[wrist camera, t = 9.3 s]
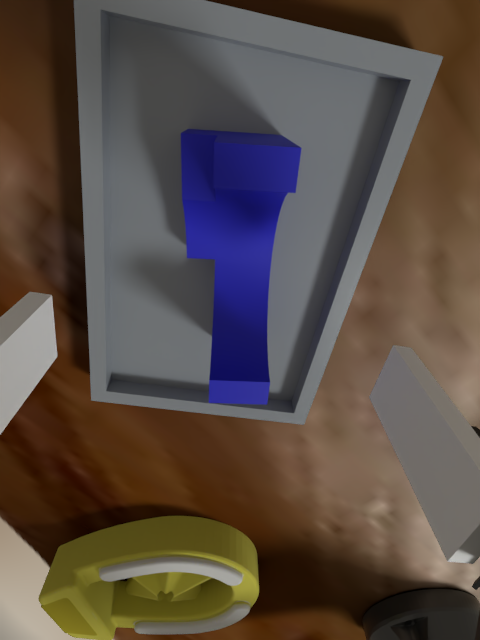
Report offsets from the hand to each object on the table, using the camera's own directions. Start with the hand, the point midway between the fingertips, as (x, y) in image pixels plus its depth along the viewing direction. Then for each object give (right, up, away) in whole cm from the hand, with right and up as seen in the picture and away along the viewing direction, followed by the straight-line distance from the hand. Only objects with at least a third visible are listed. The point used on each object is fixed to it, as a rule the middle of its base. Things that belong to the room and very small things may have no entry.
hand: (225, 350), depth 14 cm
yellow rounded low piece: (-8, -25, +26) cm, 37 cm away
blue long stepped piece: (0, +5, +7) cm, 8 cm away
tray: (0, +5, +7) cm, 9 cm away
